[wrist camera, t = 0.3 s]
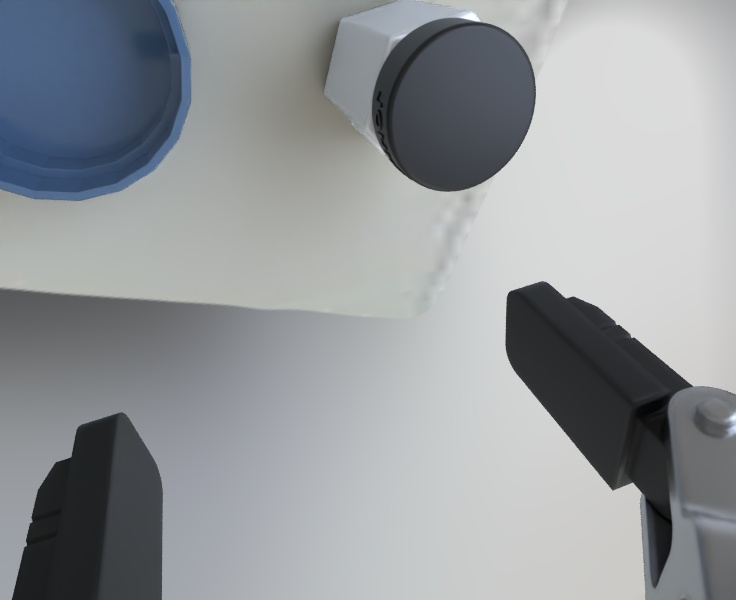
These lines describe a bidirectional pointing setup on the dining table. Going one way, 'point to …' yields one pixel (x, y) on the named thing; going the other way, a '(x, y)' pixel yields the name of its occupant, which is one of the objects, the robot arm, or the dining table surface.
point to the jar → (433, 90)
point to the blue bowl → (89, 94)
